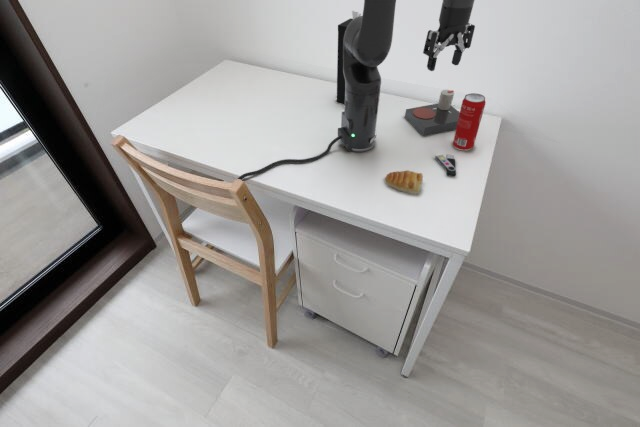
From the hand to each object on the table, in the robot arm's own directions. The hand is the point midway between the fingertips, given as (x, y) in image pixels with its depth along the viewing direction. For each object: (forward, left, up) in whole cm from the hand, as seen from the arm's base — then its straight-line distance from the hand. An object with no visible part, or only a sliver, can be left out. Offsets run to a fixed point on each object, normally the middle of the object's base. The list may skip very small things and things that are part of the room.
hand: (442, 67), depth 97 cm
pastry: (-23, -26, -18) cm, 39 cm away
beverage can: (+1, -15, -18) cm, 23 cm away
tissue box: (-19, +22, -18) cm, 34 cm away
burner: (-3, 0, -14) cm, 15 cm away
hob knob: (+5, +2, -14) cm, 15 cm away
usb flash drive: (-9, -22, -17) cm, 29 cm away
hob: (+1, -1, -17) cm, 17 cm away
